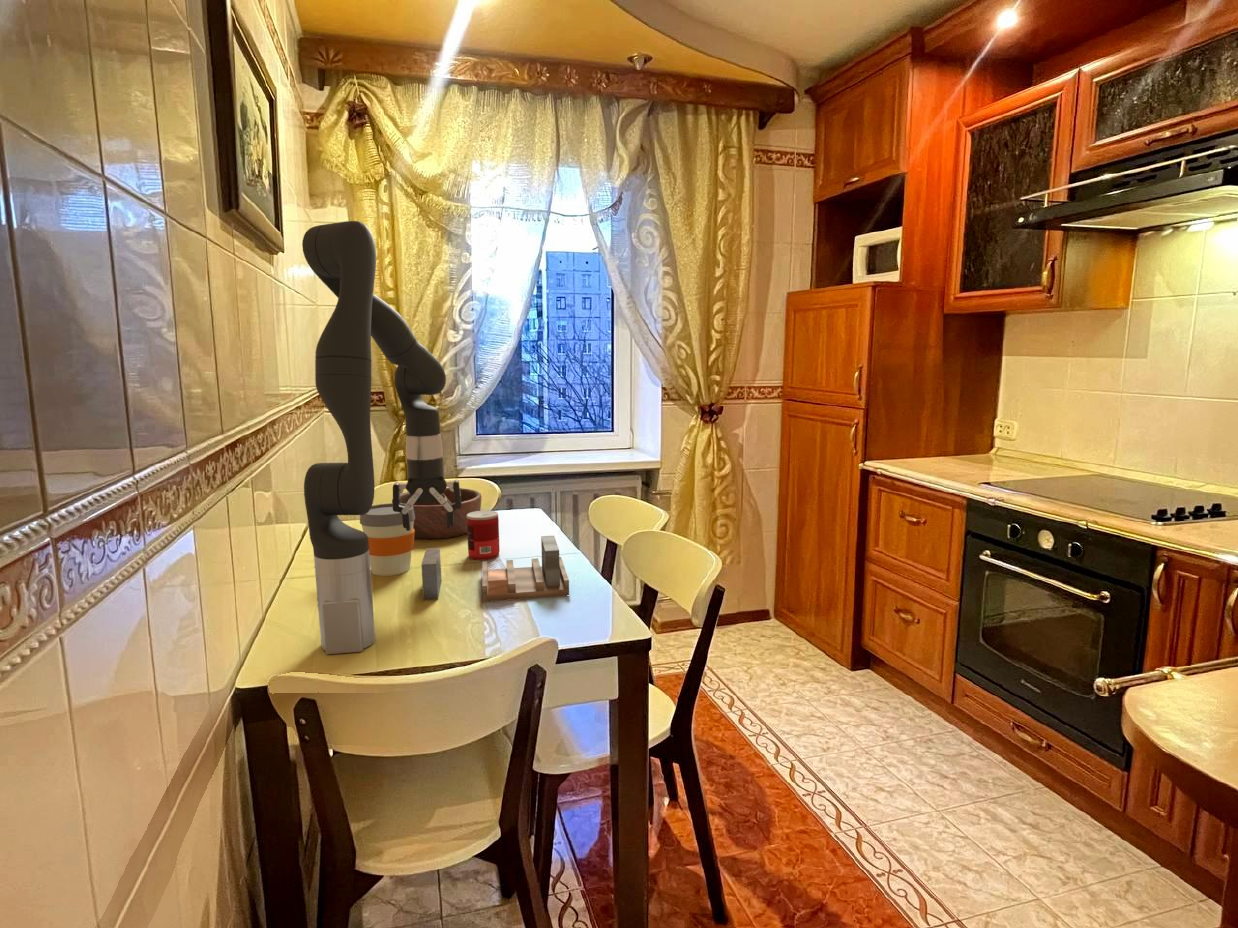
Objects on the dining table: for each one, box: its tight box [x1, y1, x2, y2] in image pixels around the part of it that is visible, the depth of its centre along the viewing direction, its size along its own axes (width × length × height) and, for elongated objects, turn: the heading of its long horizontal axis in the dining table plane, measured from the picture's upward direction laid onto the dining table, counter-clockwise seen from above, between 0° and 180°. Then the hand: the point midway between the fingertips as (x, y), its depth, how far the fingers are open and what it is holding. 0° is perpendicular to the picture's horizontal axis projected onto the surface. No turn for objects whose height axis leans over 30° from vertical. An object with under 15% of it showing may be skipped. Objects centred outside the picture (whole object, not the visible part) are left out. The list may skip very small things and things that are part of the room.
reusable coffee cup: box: [359, 502, 415, 577], centre depth 172 cm, size 13×13×15 cm
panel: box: [420, 547, 443, 601], centre depth 158 cm, size 12×3×8 cm, turn 10°
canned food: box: [466, 509, 501, 561], centre depth 182 cm, size 8×8×11 cm
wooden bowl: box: [391, 487, 482, 540], centre depth 207 cm, size 25×25×10 cm
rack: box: [481, 535, 570, 603], centre depth 160 cm, size 17×18×10 cm
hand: (429, 528), depth 156 cm, fingers open, 8 cm apart
